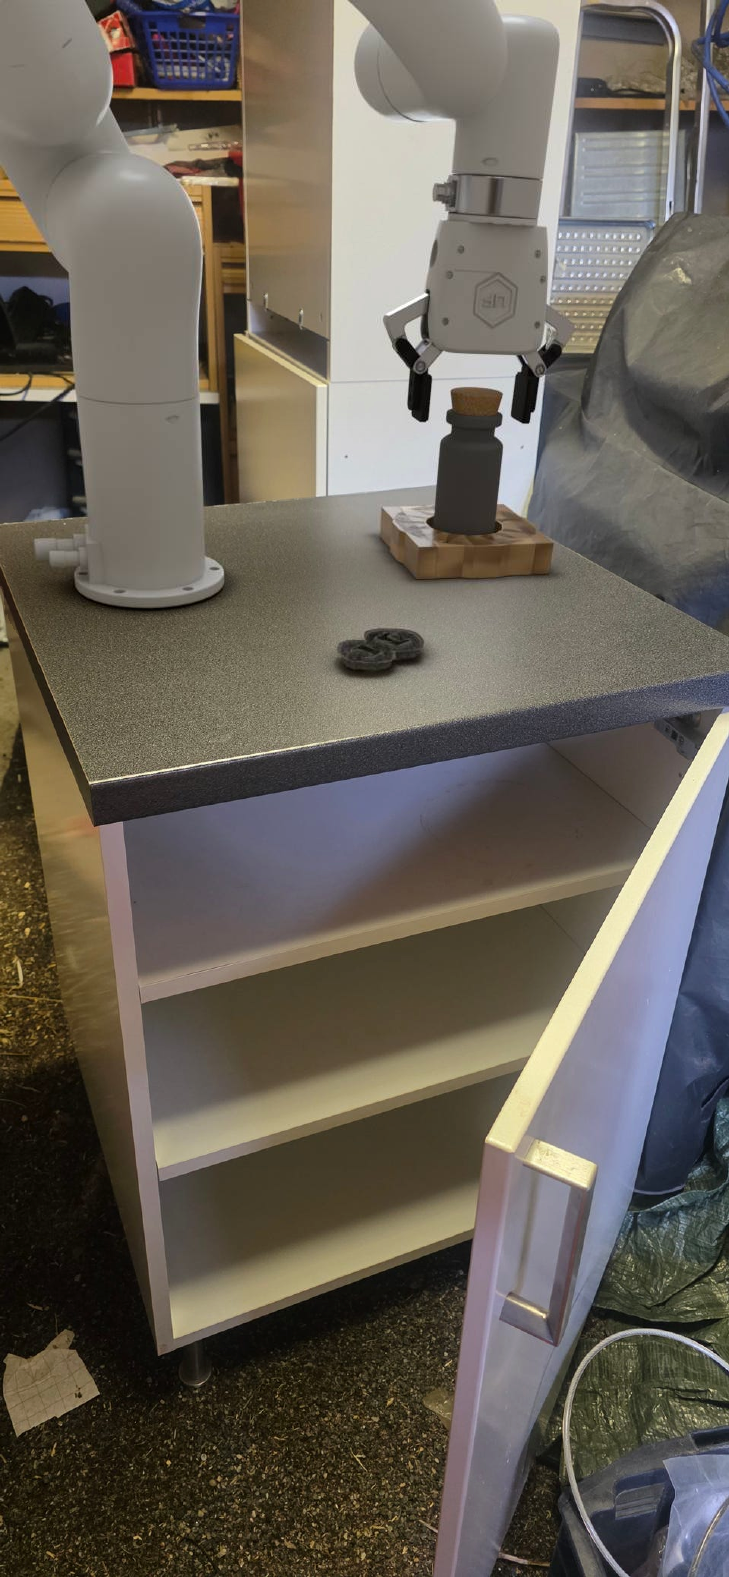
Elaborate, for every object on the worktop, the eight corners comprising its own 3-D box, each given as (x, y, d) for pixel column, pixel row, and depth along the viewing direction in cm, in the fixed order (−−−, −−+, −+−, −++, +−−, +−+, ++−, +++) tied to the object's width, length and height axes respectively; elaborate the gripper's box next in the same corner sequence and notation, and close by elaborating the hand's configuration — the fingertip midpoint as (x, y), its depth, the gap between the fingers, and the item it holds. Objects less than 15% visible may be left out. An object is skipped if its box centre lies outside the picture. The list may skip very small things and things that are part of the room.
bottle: (503, 559, 99) (522, 395, 91) (453, 567, 96) (468, 399, 88) (468, 542, 103) (484, 384, 95) (419, 549, 100) (431, 387, 93)
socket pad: (413, 581, 92) (416, 548, 91) (375, 535, 104) (377, 505, 102) (554, 575, 96) (559, 543, 94) (502, 531, 107) (505, 502, 105)
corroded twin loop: (319, 662, 76) (320, 649, 75) (387, 633, 81) (387, 620, 80) (372, 682, 73) (373, 668, 72) (438, 651, 78) (439, 638, 78)
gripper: (405, 197, 79) (389, 427, 88) (609, 212, 83) (574, 430, 92) (380, 195, 85) (367, 410, 94) (571, 209, 90) (542, 413, 98)
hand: (470, 420), depth 93 cm, fingers open, 9 cm apart
